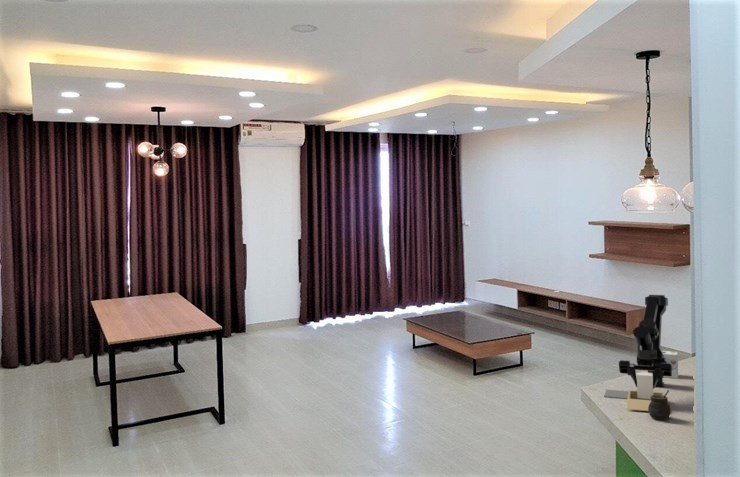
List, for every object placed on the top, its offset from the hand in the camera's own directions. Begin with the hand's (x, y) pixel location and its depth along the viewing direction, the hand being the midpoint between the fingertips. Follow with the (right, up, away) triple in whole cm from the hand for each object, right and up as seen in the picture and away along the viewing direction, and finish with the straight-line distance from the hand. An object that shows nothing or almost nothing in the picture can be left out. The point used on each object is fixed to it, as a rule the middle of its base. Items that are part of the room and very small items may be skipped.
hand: (645, 387), depth 233 cm
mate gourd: (-1, -8, -14) cm, 16 cm away
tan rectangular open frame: (+1, -7, +1) cm, 7 cm away
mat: (-4, -7, +16) cm, 18 cm away
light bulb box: (+28, -5, +42) cm, 50 cm away
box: (+1, -7, +2) cm, 7 cm away
